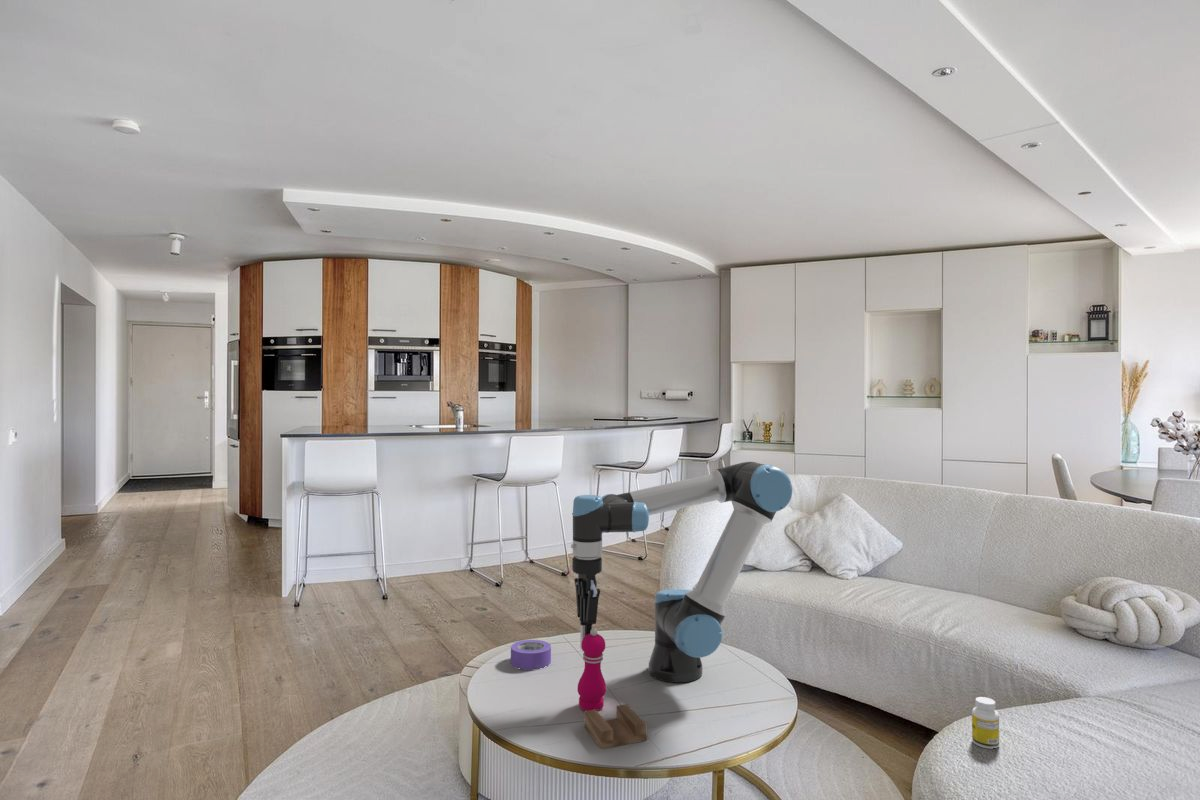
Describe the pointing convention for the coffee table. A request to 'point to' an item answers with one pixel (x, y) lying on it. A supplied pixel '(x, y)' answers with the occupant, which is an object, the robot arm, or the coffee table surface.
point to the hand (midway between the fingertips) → (586, 648)
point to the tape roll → (530, 654)
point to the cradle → (615, 727)
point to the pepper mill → (592, 673)
